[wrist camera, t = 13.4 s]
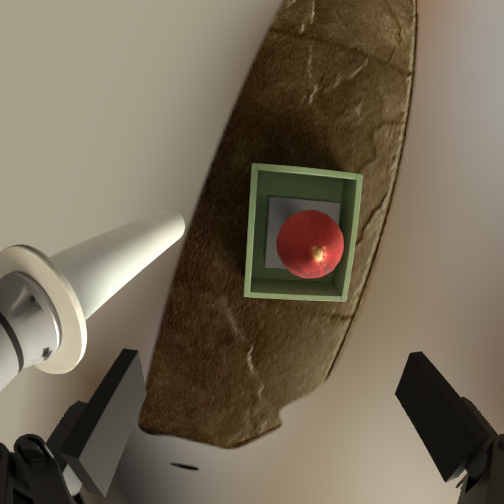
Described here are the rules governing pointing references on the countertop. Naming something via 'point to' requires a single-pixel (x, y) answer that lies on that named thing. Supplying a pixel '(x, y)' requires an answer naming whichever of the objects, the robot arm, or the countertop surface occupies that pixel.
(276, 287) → the crate
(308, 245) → the onion
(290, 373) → the countertop surface
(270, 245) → the block
